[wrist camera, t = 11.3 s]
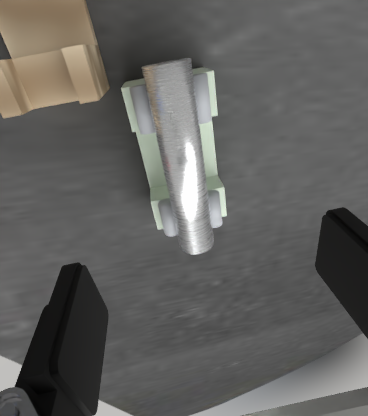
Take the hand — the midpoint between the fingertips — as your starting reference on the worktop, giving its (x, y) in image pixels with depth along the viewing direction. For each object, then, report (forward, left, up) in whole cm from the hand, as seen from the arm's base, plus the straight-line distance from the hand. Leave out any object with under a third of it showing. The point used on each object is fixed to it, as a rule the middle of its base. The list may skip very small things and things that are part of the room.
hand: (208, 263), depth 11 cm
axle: (0, 0, -10) cm, 10 cm away
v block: (0, 0, -16) cm, 16 cm away
